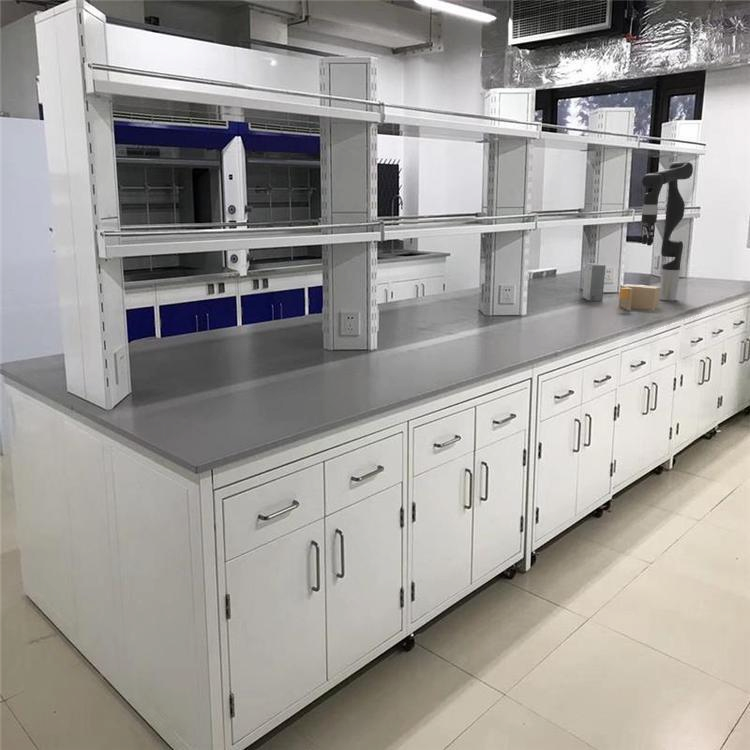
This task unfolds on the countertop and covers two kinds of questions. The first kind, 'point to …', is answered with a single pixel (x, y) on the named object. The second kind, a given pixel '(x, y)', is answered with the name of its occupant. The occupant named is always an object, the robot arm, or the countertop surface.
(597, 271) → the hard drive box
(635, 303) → the carton
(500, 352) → the countertop surface
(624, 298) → the flap
